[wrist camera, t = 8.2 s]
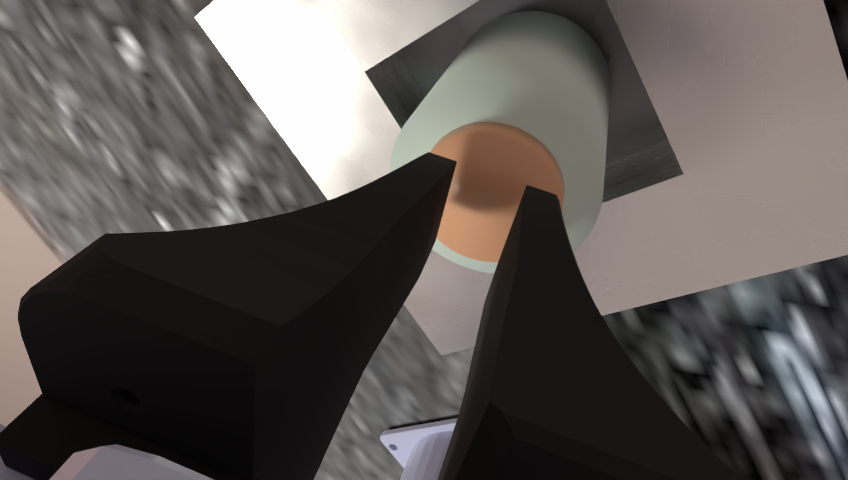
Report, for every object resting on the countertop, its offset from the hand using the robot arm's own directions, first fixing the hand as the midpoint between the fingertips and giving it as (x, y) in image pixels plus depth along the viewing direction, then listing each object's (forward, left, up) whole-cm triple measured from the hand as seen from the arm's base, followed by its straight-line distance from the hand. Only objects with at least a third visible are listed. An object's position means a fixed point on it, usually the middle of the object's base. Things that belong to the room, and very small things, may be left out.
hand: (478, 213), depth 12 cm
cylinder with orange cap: (0, 0, -7) cm, 7 cm away
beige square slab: (0, 0, -9) cm, 9 cm away
